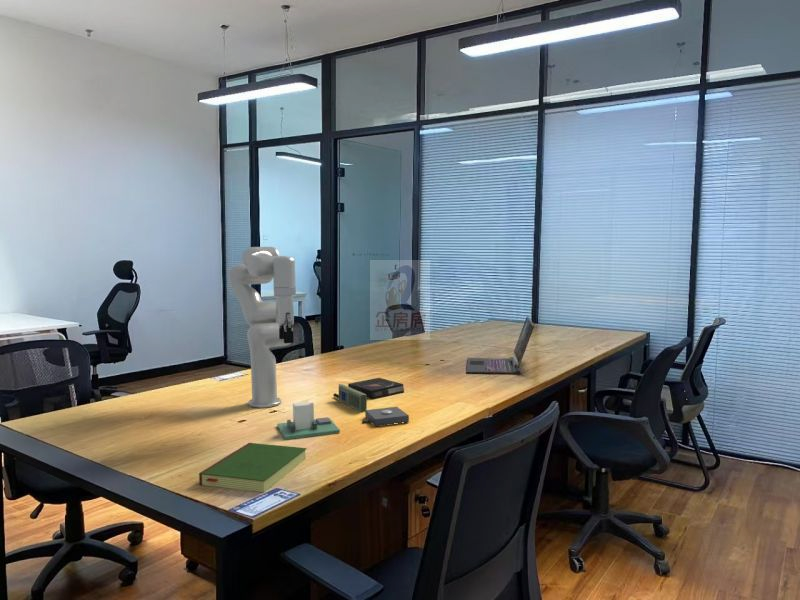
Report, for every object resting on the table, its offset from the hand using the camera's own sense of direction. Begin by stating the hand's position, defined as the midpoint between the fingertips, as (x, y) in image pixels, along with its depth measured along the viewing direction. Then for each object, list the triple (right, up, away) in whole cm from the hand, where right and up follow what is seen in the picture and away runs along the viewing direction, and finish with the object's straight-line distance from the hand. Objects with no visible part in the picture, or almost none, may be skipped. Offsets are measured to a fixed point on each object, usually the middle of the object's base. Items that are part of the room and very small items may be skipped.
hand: (286, 340), depth 205 cm
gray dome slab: (+34, -28, 0) cm, 44 cm away
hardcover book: (0, -33, -45) cm, 56 cm away
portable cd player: (+30, -25, +40) cm, 56 cm away
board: (+9, -29, -9) cm, 32 cm away
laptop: (+90, -20, +88) cm, 127 cm away
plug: (+7, -28, -10) cm, 31 cm away
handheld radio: (+20, -27, +22) cm, 40 cm away
